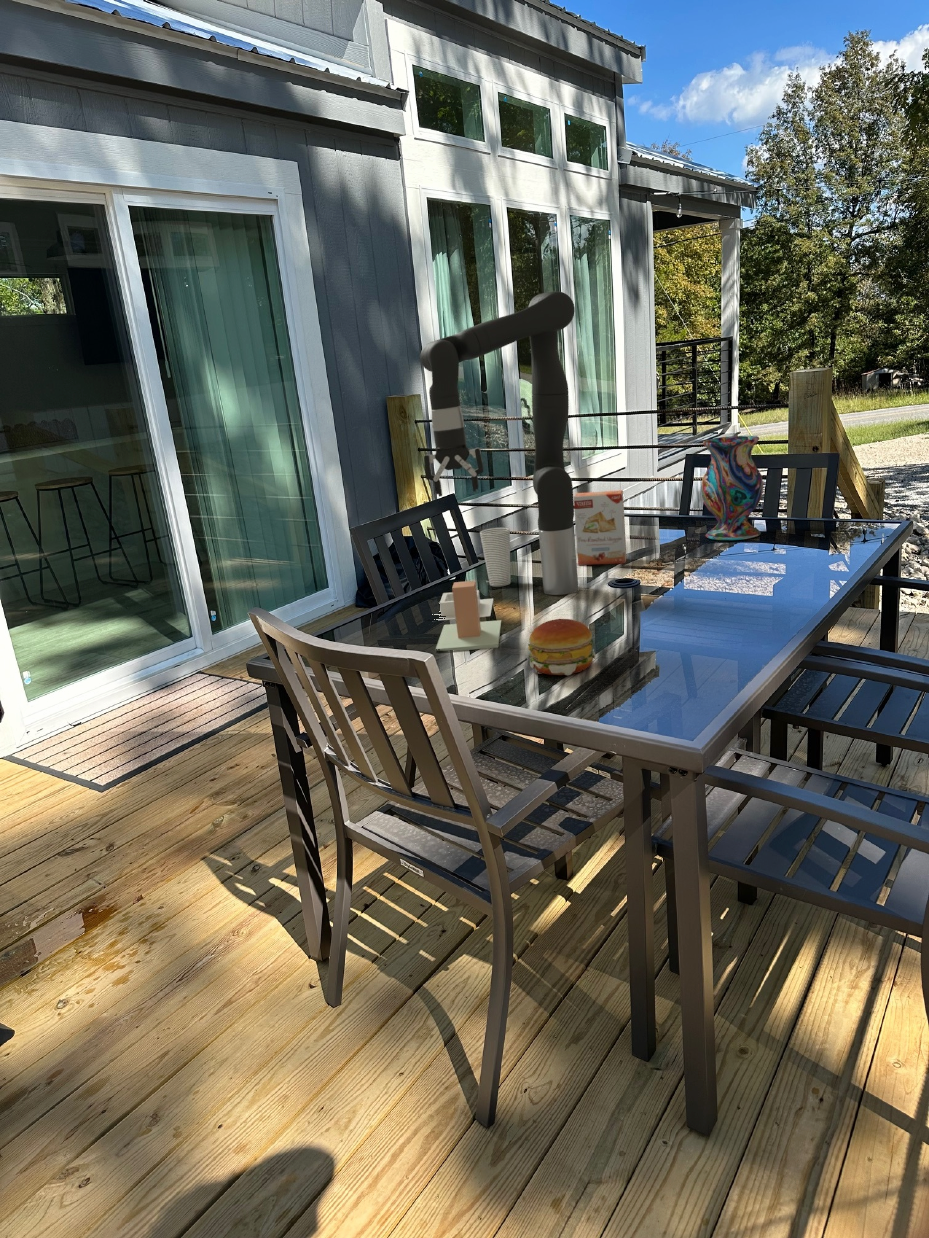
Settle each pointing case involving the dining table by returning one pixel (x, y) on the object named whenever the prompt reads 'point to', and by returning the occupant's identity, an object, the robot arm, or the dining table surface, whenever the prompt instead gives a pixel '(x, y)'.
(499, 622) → the mat
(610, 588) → the dining table surface
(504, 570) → the cup
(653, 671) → the dining table surface
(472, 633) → the part
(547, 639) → the burger
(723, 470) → the vase
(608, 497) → the cracker box
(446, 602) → the pocket
